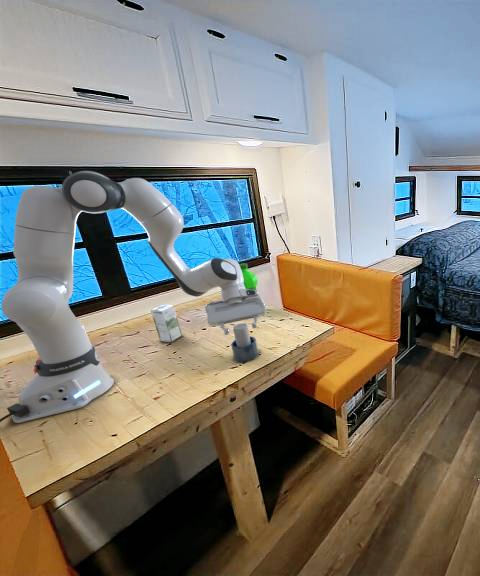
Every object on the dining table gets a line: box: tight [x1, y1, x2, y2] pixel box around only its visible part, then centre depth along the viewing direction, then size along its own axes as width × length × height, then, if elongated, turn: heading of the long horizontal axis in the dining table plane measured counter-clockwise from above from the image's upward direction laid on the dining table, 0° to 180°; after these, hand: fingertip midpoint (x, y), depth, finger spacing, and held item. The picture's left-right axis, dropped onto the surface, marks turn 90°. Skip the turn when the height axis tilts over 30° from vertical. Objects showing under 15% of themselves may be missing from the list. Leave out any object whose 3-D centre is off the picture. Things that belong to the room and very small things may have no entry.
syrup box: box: [150, 304, 183, 343], centre depth 127 cm, size 6×6×14 cm
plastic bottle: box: [238, 262, 258, 290], centre depth 147 cm, size 10×10×25 cm
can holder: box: [230, 335, 259, 363], centre depth 114 cm, size 8×8×6 cm
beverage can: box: [232, 323, 251, 347], centre depth 113 cm, size 5×5×12 cm
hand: (241, 331), depth 113 cm, fingers open, 8 cm apart
